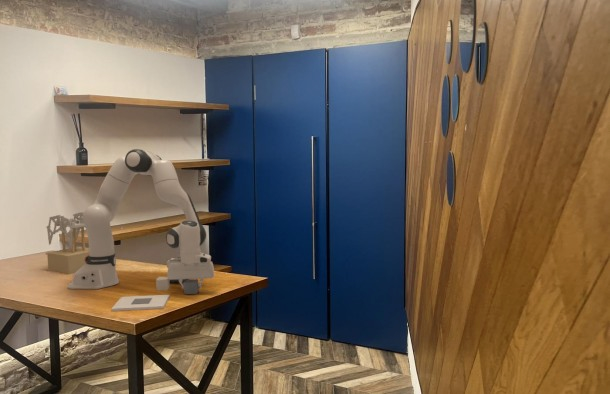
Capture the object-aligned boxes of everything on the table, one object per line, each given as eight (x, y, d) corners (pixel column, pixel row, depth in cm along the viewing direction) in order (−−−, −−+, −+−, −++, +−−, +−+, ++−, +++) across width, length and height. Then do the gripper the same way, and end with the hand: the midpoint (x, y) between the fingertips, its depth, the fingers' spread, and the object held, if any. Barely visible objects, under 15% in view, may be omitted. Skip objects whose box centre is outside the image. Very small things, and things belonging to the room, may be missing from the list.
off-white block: (156, 290, 223) (156, 279, 222) (158, 287, 228) (158, 277, 227) (167, 290, 223) (167, 279, 223) (169, 287, 228) (169, 276, 228)
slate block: (184, 294, 215) (184, 282, 215) (186, 290, 221) (185, 279, 220) (197, 293, 216) (197, 282, 215) (198, 290, 221) (198, 279, 221)
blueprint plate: (111, 311, 194) (111, 308, 194) (121, 299, 210) (121, 296, 210) (163, 308, 196) (163, 305, 196) (169, 296, 212) (169, 294, 212)
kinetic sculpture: (104, 267, 269) (101, 213, 266) (70, 275, 252) (67, 217, 249) (77, 262, 282) (74, 210, 279) (43, 270, 265) (39, 214, 262)
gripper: (165, 260, 212) (166, 291, 214) (213, 258, 215) (214, 289, 216) (167, 257, 219) (168, 287, 220) (214, 255, 221) (215, 285, 222)
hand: (191, 288), depth 218 cm, fingers closed on slate block, 5 cm apart
